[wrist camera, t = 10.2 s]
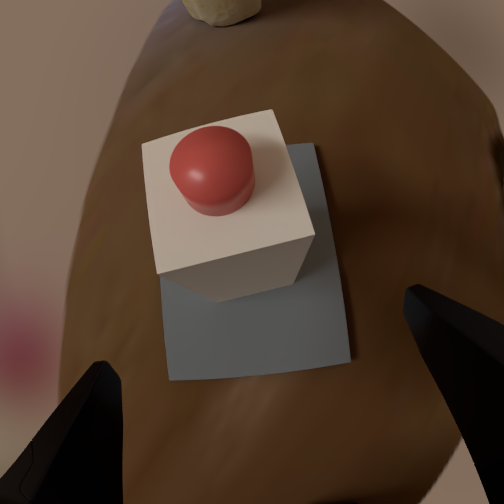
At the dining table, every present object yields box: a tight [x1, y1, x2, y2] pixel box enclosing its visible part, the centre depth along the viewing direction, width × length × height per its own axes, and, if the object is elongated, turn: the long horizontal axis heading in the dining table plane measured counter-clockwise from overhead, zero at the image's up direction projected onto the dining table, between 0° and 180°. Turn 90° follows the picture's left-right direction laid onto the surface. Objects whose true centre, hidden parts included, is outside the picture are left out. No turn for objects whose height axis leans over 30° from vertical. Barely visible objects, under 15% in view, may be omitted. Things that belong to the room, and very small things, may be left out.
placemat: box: [160, 143, 351, 380], centre depth 21 cm, size 16×12×1 cm
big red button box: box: [142, 109, 315, 303], centre depth 15 cm, size 5×5×12 cm
